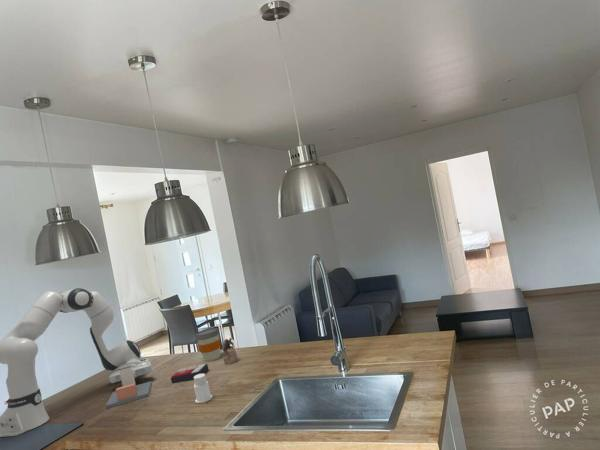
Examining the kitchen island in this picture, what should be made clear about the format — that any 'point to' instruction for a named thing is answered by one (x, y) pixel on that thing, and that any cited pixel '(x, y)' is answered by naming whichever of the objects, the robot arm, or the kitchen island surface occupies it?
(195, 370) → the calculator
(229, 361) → the figurine
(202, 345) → the reusable coffee cup
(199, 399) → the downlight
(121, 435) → the kitchen island surface
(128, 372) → the beige rectangular block
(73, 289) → the robot arm
